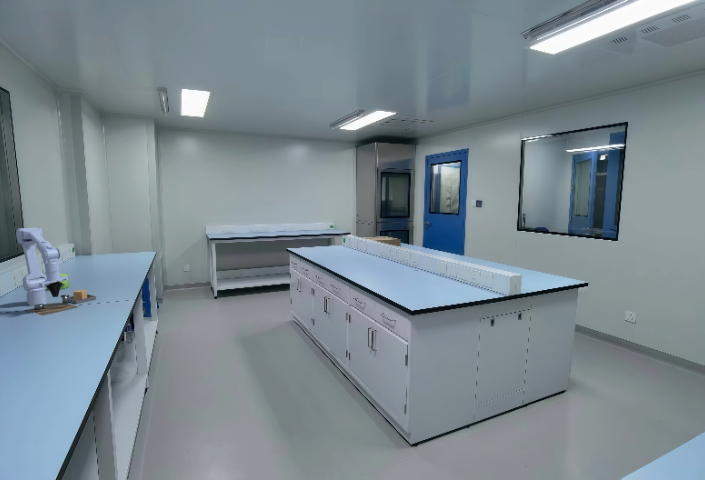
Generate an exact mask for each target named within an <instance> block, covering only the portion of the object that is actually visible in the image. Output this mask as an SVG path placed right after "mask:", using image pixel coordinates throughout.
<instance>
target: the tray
mask: <svg viewBox="0 0 705 480" xmlns="http://www.w3.org/2000/svg"><path fill="white" fill-rule="evenodd" d="M96 300H97V296H96V295H93V294H88V293H87V298H85V299H80V300H74V296H73V295H72V296H69V297H68V303H70V304H71V303H72V304H75V305H79V304H84V303H87V302H92V301H96Z"/></svg>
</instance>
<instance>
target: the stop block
mask: <svg viewBox="0 0 705 480" xmlns="http://www.w3.org/2000/svg"><path fill="white" fill-rule="evenodd" d="M87 294H88V293H87V289H80V290H79V289H78V290H76V291H73V293H72V296H74V300H80V299H85V298H87Z"/></svg>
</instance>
